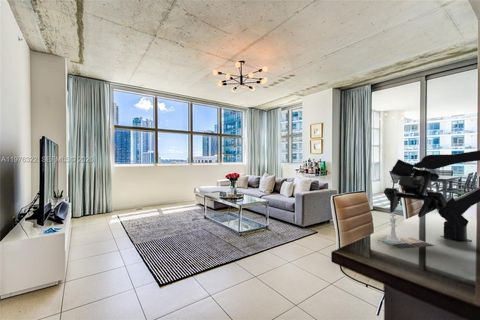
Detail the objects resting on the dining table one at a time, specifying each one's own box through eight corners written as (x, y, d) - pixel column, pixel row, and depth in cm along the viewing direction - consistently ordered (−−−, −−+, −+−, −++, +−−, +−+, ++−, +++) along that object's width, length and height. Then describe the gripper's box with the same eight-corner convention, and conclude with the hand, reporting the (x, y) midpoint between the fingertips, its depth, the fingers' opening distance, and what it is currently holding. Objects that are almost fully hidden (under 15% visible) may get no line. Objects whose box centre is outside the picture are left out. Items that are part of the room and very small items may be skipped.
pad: (394, 239, 82) (394, 238, 82) (406, 243, 77) (406, 242, 77) (379, 240, 80) (379, 239, 80) (390, 244, 76) (390, 244, 76)
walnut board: (412, 239, 83) (411, 237, 83) (436, 247, 75) (436, 245, 75) (377, 241, 80) (377, 240, 80) (399, 250, 72) (399, 248, 72)
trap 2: (424, 242, 78) (424, 242, 78) (433, 245, 75) (433, 244, 75) (410, 243, 77) (410, 243, 77) (418, 246, 74) (418, 246, 74)
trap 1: (407, 244, 76) (407, 243, 76) (415, 247, 74) (415, 246, 74) (392, 245, 75) (392, 244, 75) (400, 248, 72) (400, 247, 72)
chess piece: (404, 244, 76) (404, 214, 76) (388, 243, 77) (388, 213, 77) (397, 239, 80) (397, 211, 81) (382, 238, 81) (382, 211, 82)
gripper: (385, 168, 93) (369, 196, 88) (442, 169, 77) (426, 203, 72) (396, 186, 97) (381, 214, 92) (452, 190, 80) (438, 225, 75)
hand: (404, 214), depth 82 cm, fingers open, 9 cm apart
